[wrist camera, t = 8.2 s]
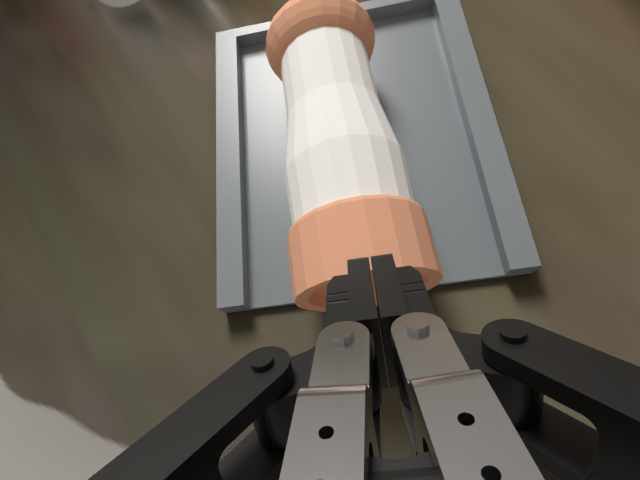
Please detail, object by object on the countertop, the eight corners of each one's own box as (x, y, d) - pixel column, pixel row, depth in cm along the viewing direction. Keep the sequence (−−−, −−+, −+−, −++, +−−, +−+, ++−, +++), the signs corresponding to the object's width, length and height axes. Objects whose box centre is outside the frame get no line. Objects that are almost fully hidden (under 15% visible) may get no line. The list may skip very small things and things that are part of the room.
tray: (451, 1, 31) (454, -17, 30) (532, 273, 23) (541, 265, 22) (223, 48, 33) (215, 32, 32) (226, 313, 25) (216, 308, 24)
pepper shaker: (320, 270, 16) (271, -53, 23) (279, 316, 22) (251, 51, 29) (475, 265, 18) (387, -26, 25) (398, 307, 24) (345, 65, 32)
